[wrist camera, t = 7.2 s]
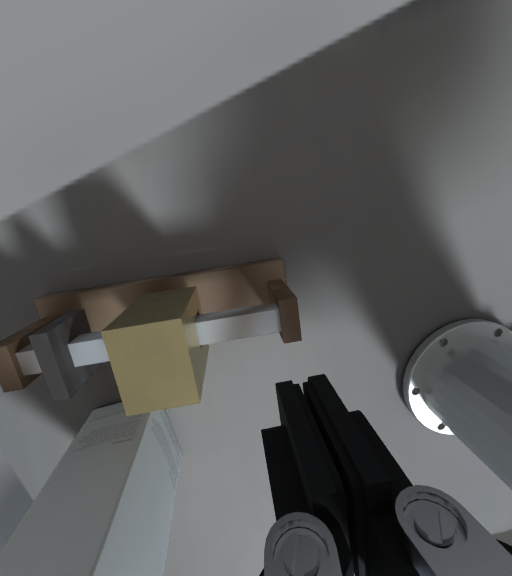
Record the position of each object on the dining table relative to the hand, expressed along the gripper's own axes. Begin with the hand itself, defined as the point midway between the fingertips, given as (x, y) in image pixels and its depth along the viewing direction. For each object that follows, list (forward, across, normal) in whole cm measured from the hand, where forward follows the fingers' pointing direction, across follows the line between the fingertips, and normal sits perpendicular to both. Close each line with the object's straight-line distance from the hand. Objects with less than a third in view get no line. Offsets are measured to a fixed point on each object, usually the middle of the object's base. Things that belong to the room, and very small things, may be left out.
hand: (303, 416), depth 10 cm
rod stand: (+16, +7, 0) cm, 18 cm away
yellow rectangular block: (+13, +6, 0) cm, 14 cm away
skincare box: (+17, +13, +12) cm, 24 cm away
